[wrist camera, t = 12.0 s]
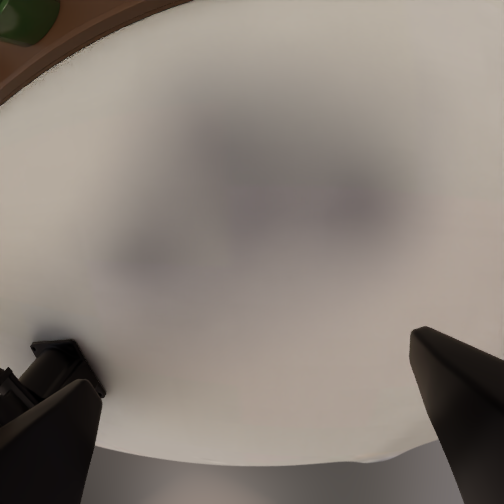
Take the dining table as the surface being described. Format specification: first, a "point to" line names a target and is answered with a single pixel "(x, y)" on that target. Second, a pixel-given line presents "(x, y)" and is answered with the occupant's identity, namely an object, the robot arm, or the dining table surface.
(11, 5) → the green bottle
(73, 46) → the tray
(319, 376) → the dining table surface
